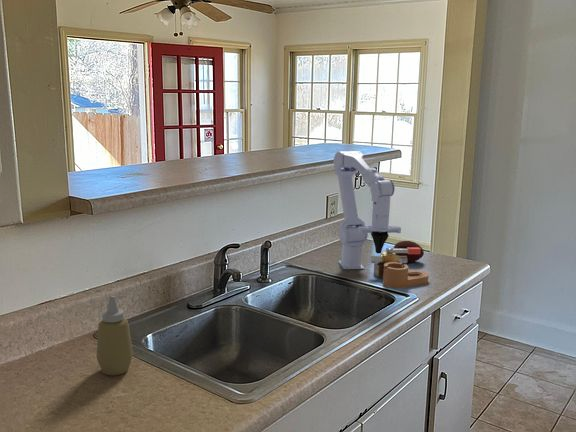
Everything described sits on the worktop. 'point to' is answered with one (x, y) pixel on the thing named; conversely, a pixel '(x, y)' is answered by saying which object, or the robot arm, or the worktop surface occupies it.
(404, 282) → the bracket
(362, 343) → the worktop surface
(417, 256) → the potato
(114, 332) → the squeeze bottle
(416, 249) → the valve lever
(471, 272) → the worktop surface
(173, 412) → the worktop surface
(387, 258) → the brass valve
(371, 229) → the robot arm
